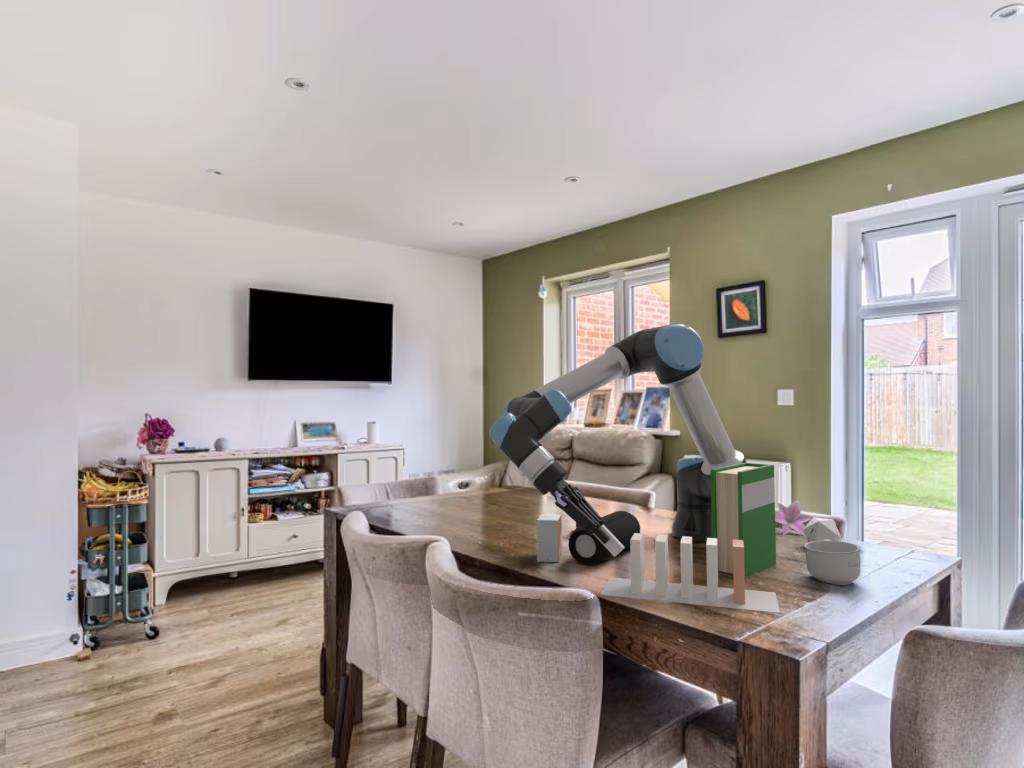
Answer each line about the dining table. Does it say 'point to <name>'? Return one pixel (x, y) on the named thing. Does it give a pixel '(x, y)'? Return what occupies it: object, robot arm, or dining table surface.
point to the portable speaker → (591, 548)
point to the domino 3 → (686, 567)
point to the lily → (791, 517)
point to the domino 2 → (661, 564)
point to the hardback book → (744, 515)
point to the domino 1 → (637, 563)
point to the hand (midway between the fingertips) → (619, 552)
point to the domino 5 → (738, 571)
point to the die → (821, 530)
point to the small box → (549, 538)
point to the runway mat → (694, 595)
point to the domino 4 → (712, 569)
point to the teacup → (833, 561)
